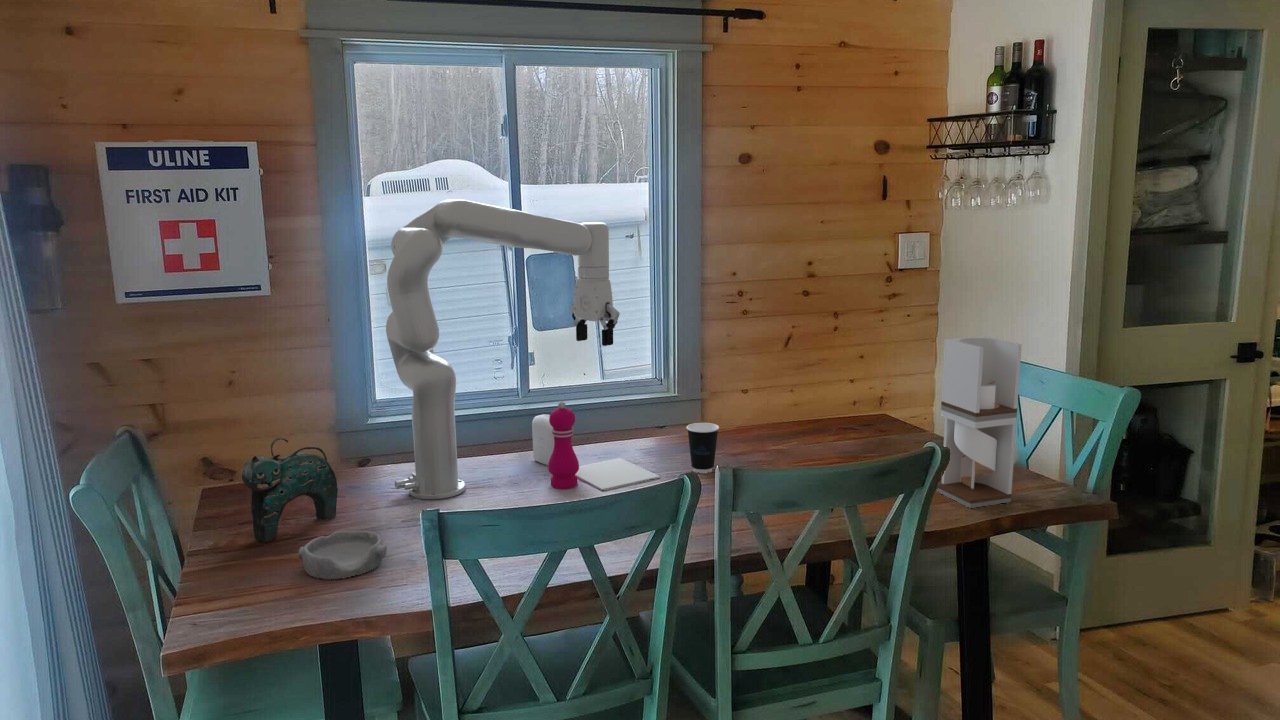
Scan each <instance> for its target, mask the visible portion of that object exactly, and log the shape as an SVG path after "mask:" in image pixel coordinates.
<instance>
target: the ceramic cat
mask: <svg viewBox="0 0 1280 720" xmlns="http://www.w3.org/2000/svg"><path fill="white" fill-rule="evenodd" d="M280 440H282V441H284V442H286V443H289V440H288V439H287V438H285V437H277V438H276V439H274V440H272V442H271V444H270V453H271V457H267V456H256V455H254V456H253V457H251V458H250V459H248V460H247V461H245V463H244V464H243V466H242V471H241V479H242V483H244V485H245V486H246V487H248V488H249V489H251V503H250V504H251V511H250V512H251V515H252V516H251V517H252V526H253V527H252V528H253V535H254V540H255V539H256V541H258V542H260V541H262V542H261V543H263V542H264V543H263V544H266V543H265V542H267V543H269V542H268V541H270V542H272V541H275V540H277V538H278V529H279V528H278V527H279V521H280V518H281V516H282V514H283V511H284V509H285V507H286V505H288V504H289V502H291V501H293V500H295V499H296V498H297V499H298V497H301V496H306V497H309V498H310V499H312V501H313V504H314V508H315V516H316V518H317V519H320V520H321V519H322V521H326V520H327V519H328V520H331V519H333V517H334V518H335V517H336V516H337V500H338V490H339V489H338V482H337V480H338V479H337V476H336V475H335V471H334V469H333V468H332V466H331V464H330V463H329V462H328V459H327V456H326V454H325V452H324V450H323V449H322V448H320V447H318V446H317V447H316V446H304V447H301V448H300V449H297V450H295V451H294V452H293V453H290V454H288V455H285V456H282V457H281V454H275V455H274V452H273V446H274V445H275V443H276V442H277V441H280ZM304 450H317V451H319V452H320V453H321V454H322V455H323V457H322V456H320V455H317V454H314V453H309V452H301V451H304ZM279 457H281V458H279ZM328 520H327V521H328ZM274 539H275V540H274ZM271 540H272V541H271Z"/></svg>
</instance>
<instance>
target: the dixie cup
mask: <svg viewBox="0 0 1280 720" xmlns="http://www.w3.org/2000/svg"><path fill="white" fill-rule="evenodd" d="M685 428H686V429H687V435H688V445H689V452H690V463H691V468H692V471H693V472H694V473H696V474H697V473H698V472H699V473H698V474H709V473H712V472H713V470H712V469H713V468H714V467H715V460H716V450H717V449H716V448H717V441H718V435H719V434H718V433H719V429H720V426H719V425H718V424H715V423H712V422H711V423H710V422H695V423H694V422H693V423H690V424H688V425H687V426H686V427H685ZM693 469H694V470H693ZM708 472H709V473H708Z"/></svg>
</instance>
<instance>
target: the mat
mask: <svg viewBox="0 0 1280 720" xmlns="http://www.w3.org/2000/svg"><path fill="white" fill-rule="evenodd" d="M575 475H576V476H577V479H579V480H581V481H582V482H584V483H586V484H588V485H590V486H592V487H593V488H595V489H597V488H598V490H599V489H600V491H601V490H605V491H608V490H607V489H609V490H614V489H617V488H622V487H623V488H624V487H627V486H631V485H637V484H640V483H639V482H641V483H644V482H643V481H645V482H647V481H646V480H649V479H654V480H656V479H655V478H657V477H660V478H661V476H660V475H658V474H656V473H654V472H652V471H649V470H647V469H645V468H642V467H641V466H638V465H637V464H635V463H632V462H629V461H628V460H626V459H623V458H621V457H618V458H613V459H607V460H603V461H598V462H593V463H587V464H584V465H579V470H578V472H577V473H576V474H575Z"/></svg>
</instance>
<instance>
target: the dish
mask: <svg viewBox="0 0 1280 720" xmlns="http://www.w3.org/2000/svg"><path fill="white" fill-rule="evenodd" d="M387 550H388V546H387V545H385V544H384V545H383V541H382V538H381V536H380V535H379V534H378V533H376V532H372V531H369V530H339V531H335V532H332V533H331V534H329V535H327V536H324V535H321V536H318V537H315V538H313V539H312V540H310V541H309V542H307V543H306V544H305V545H304V546H300V548H299V549H298V558H299V559H300V560H302V564H303V569H304V571H305V573H306V574H308V575H309V576H311V577H312V576H313V577H312V578H315V577H316V579H319V578H323V579H322V580H331V579H332V580H335V579H334V578H342V579H344V578H343V577H349V576H354V577H356V576H355V575H358V576H360V575H359V574H361V575H364V574H367V573H369V571H370V572H372V571H373V569H374V570H375V569H377V568H378V567H379V566H380V565H381V564H382V561H383V559H384V558H385V557H386V555H387ZM376 567H377V568H376ZM371 570H372V571H371ZM366 572H367V573H366ZM363 573H364V574H363ZM349 578H350V577H349Z"/></svg>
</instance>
